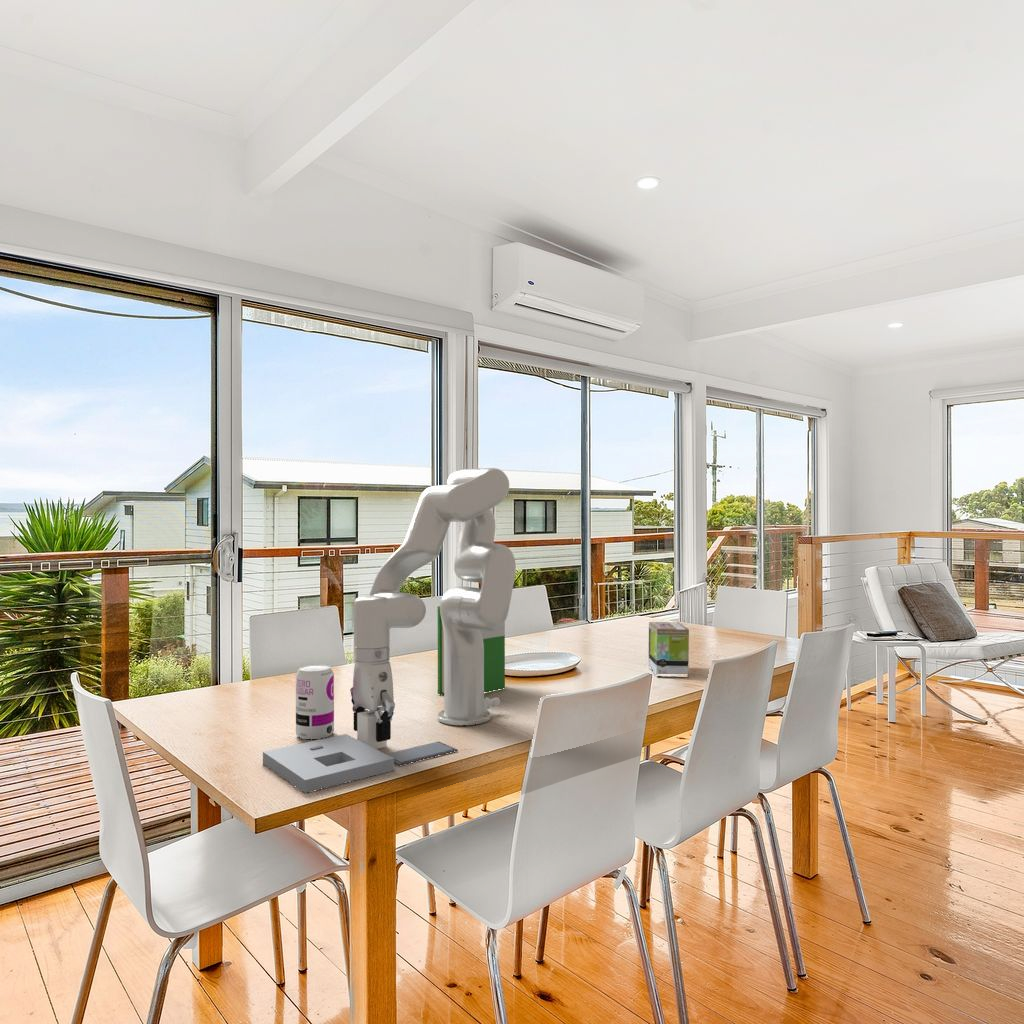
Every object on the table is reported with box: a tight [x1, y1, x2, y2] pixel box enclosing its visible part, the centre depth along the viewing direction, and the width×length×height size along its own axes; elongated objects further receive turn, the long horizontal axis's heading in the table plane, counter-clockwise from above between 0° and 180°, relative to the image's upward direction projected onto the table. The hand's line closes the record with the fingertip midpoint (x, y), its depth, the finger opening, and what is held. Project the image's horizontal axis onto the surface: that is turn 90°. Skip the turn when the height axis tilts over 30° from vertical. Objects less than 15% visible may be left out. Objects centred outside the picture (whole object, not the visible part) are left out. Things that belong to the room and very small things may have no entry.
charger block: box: [356, 710, 388, 750], centre depth 157 cm, size 4×4×7 cm
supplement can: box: [295, 664, 335, 741], centre depth 165 cm, size 8×8×15 cm
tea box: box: [647, 621, 690, 676], centre depth 228 cm, size 15×10×15 cm
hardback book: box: [437, 605, 506, 695], centre depth 203 cm, size 18×7×24 cm, turn 131°
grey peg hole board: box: [262, 733, 395, 794], centre depth 144 cm, size 18×20×3 cm
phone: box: [386, 740, 459, 767], centre depth 152 cm, size 14×7×1 cm, turn 129°
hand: (371, 734), depth 157 cm, fingers open, 9 cm apart
